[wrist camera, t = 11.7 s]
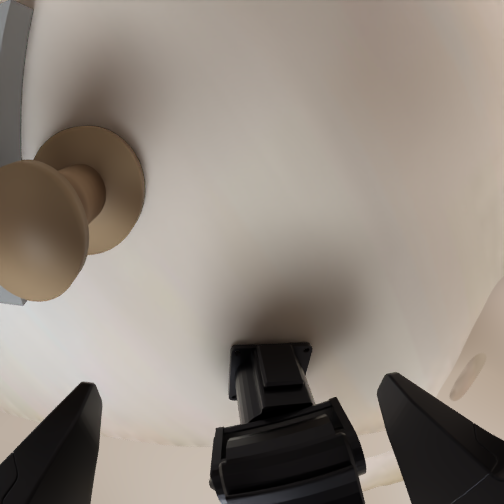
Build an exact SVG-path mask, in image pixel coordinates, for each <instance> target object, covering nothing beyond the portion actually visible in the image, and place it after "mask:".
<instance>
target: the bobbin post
mask: <svg viewBox="0 0 504 504" xmlns="http://www.w3.org/2000/svg"><path fill="white" fill-rule="evenodd" d="M144 198H145V181H144V175H143V171H142V168H141V165H140V162H139V160H138V158H137V156H136V154H135V153H134V151H133V150H132V148H131V147H130V146H129V145H128V144H127V142H126V141H124V140H123V139H122V138H121V137H120V136H118V135H117V134H115V133H114V132H112V131H110V130H107V129H105V128H101V127H97V126H79V127H73V128H69V129H66V130H63V131H61V132H59V133H57V134H55V135H54V136H52V137H51V138H50V139H48V140H47V141H46V142H45V143H44V144H43V146H42V147H41V148H40V149H39V151H38V152H37V154H36V156H35V158H34V160H20V161H16V162H13V163H10V164H7V165H5V166H2V167H0V285H1V286H2V287H3V288H4V289H6V290H7V291H9V292H10V293H12V294H13V295H15V296H18V297H20V298H22V299H25V300H29V301H40V302H41V301H48V300H51V299H54V298H56V297H58V296H60V295H61V294H63V293H64V292H65V291H66V290H67V289H68V288H69V287H70V285H71V284H72V282H73V281H74V279H75V278H76V277H77V275H78V274H79V272H80V271H81V269H82V267H83V265H84V263H85V260H86V257H87V255H93V254H98V253H102V252H105V251H108V250H110V249H112V248H114V247H115V246H116V245H118V244H119V243H120V242H121V241H123V240H124V239H125V238H126V236H127V235H128V234H129V233H130V231H131V230H132V228H133V227H134V225H135V223H136V222H137V220H138V218H139V216H140V214H141V211H142V207H143V203H144Z"/></svg>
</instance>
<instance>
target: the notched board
mask: <svg viewBox="0 0 504 504" xmlns="http://www.w3.org/2000/svg"><path fill="white" fill-rule="evenodd" d="M32 14H33V9H31V8H29V7H27V6H25V5H23V4H21V3H18V2H16V1H14V0H8V1H6V2H3V3H1V4H0V167H2V166H5V165H7V164H10V163H13V162H16V161H20V160H21V95H22V81H23V71H24V62H25V54H26V47H27V40H28V34H29V29H30V23H31V19H32ZM26 301H27V300H25V299H22V298H20V297H18V296H15V295H13V294H12V293H10V292H9V291H7V290H6V289H4V288H3V287H2V286H1V285H0V303H4V304H12V305H20V306H23V305H24V304H25V303H26Z"/></svg>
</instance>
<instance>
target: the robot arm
mask: <svg viewBox="0 0 504 504" xmlns="http://www.w3.org/2000/svg"><path fill="white" fill-rule="evenodd" d="M305 348H307V349H305ZM235 351H239V352H235ZM311 353H312V346H311V344H310V343H307V342H306V343H287V344H262V345H235V346H233V347H232V348H231V353H230V372H229V393H228V394H229V399H230V400H237V401H238V409H239V417H240V425H235V426H230V427H225V428H224V427H219V428H216V433H215V437H214V442H213V451H212V461H211V471H210V480H209V485H210V487H211V488H212V489H213V490H215V491H216V494H217V496H218V498H219V500H220V502H221V504H365V501H364V497H363V493H362V489H361V485H360V481H359V477H358V476H360V475H362V474H365V473H366V463H365V458H364V454H363V451H362V447H361V444H360V442H359V439H358V437H357V434H356V432H355V430H354V428H353V426H352V425H351V423H350V421H349V419H348V417H347V415H346V414H345V412H344V410H343V408H342V406H341V405H340V403H339V401H338V399H337V397H334V398H331V399H329V401H326V402H323V403H320V404H316V405H315V402H314V399H313V396H312V393H311V391H310V388H309V385H308V382H307V379H306V377H305V375H306V371H307V368H308V364H309V360H310V356H311ZM377 397H378V401H379V405H380V408H381V412H382V416H383V420H384V424H385V428H386V431H387V435H388V437H389V440H390V443H391V446H392V448H393V451H394V454H395V457H396V459H397V462H398V465H399V468H400V471H401V474H402V476H403V479H404V482H405V485H406V488H407V491H408V494H409V497H410V500H411V503H412V504H504V441H503V440H501V439H500V438H498V437H496V436H494V435H492V434H491V433H489V432H487V431H486V430H484V429H482V428H481V427H479V426H478V425H476V424H473V422H471V421H470V420H468V419H467V418H465V417H464V416H462V415H461V414H459V413H458V412H456V411H455V410H453V409H452V408H450V407H449V406H447V405H445V404H444V403H443V402H441V401H439V400H438V399H437V398H435V397H434V396H432V395H431V394H429V393H428V392H426V391H425V390H423V389H422V388H420V387H419V386H417V385H416V384H414V383H413V382H411V381H410V380H408V379H407V378H405V377H404V376H402V375H401V374H399V373H397V372H393V373H388V374H386V375H385V376H384V378H383V380H382V382H381V384H380V386H379V388H378V391H377ZM101 415H102V400H101V397H100V395H99V392H98V390H97V387H96V385H95V384H94V383H90V382H81V383H80V384H79V385H78V386H77V387H76V388H75V389H74V390H73V391H72V392H71V393H70V394H69V395H68V396H67V397H66V398H65V399H64V400H63V401H62V402H61V403H60V404H59V405H58V406H57V407H56V408H55V409H54V410H53V411H52V412H51V413H50V414H49V415H48V416H47V417H46V418H45V419H44V420H43V421H42V422H41V423H40V424H39V425H38V426H37V427H36V428H35V429H34V430H33V431H32V432H31V434H29V435H28V437H27V438H26V439H25V440H24V441H23V442H22V443H21V444H20V445H19V446H18V447H17V448H16V449H15V450H14V451H13V453H11V454H10V455H9V456H8V457H7V458H6V459H5V460H4V461H3V462H2V463H1V464H0V504H90V502H91V495H92V488H93V481H94V475H95V469H96V463H97V457H98V451H99V439H100V426H101Z"/></svg>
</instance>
